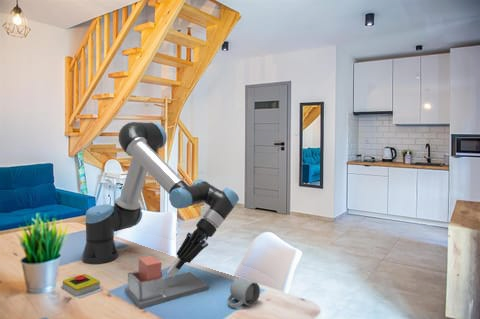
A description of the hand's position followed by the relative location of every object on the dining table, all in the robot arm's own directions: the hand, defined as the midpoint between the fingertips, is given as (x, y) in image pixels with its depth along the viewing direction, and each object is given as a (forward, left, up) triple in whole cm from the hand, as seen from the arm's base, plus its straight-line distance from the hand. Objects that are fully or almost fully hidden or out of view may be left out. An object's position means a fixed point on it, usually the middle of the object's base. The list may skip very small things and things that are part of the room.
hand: (169, 275), depth 130 cm
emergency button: (-20, -26, -6) cm, 33 cm away
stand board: (0, -1, -6) cm, 6 cm away
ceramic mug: (+23, +16, -6) cm, 28 cm away
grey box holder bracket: (0, -9, -4) cm, 10 cm away
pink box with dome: (0, -7, -4) cm, 8 cm away
